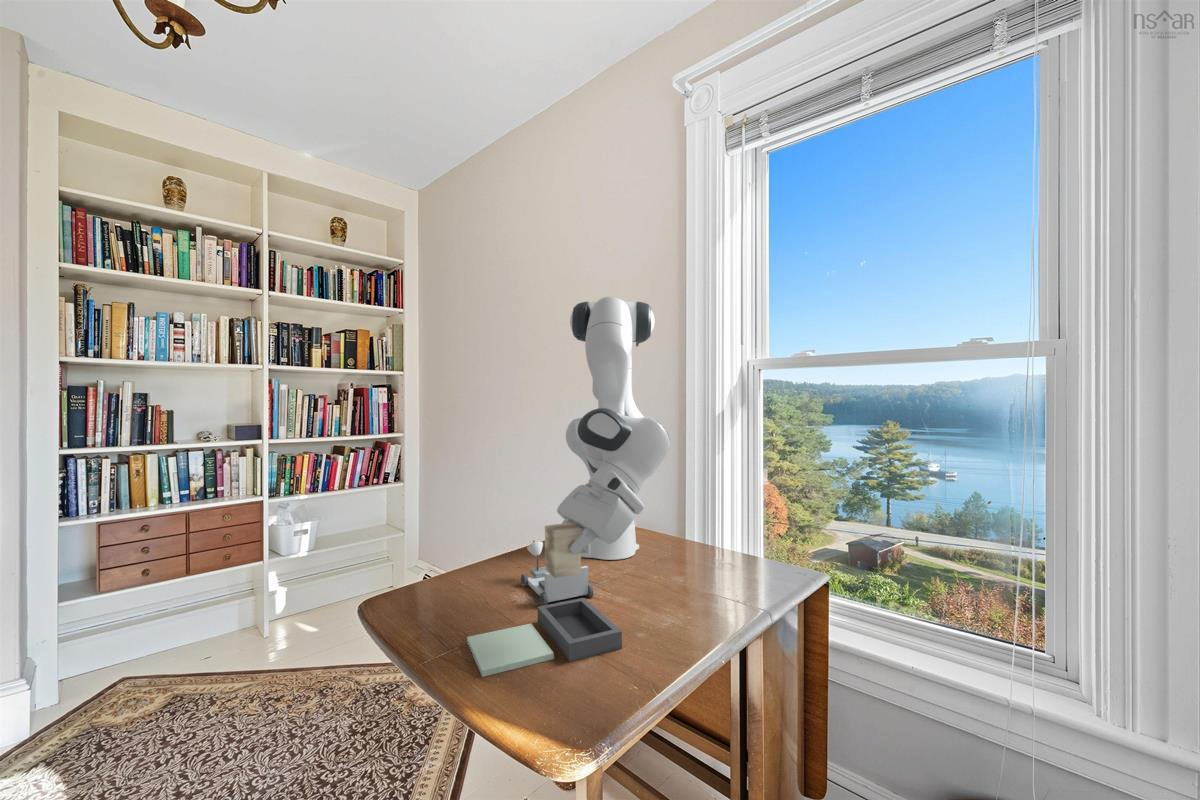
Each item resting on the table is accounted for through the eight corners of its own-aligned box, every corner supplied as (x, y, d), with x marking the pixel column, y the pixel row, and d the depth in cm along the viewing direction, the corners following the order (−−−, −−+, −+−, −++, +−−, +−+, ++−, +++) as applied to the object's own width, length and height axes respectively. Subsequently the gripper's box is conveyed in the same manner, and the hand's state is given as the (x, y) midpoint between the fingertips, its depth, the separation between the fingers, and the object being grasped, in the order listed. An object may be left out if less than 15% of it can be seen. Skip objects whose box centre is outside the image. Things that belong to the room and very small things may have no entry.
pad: (467, 642, 86) (467, 637, 86) (531, 628, 92) (531, 623, 92) (482, 677, 76) (482, 670, 76) (553, 658, 81) (553, 653, 81)
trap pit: (537, 622, 94) (537, 606, 94) (583, 612, 99) (583, 597, 99) (569, 661, 80) (569, 643, 80) (621, 648, 85) (621, 631, 85)
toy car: (517, 540, 117) (561, 534, 122) (517, 581, 117) (561, 573, 122) (544, 563, 101) (593, 555, 106) (544, 610, 101) (593, 599, 106)
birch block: (544, 569, 89) (544, 525, 89) (569, 565, 91) (569, 522, 91) (555, 578, 84) (555, 532, 84) (581, 573, 86) (581, 528, 86)
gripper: (578, 471, 100) (533, 523, 96) (628, 485, 82) (576, 551, 78) (597, 490, 102) (554, 542, 98) (650, 509, 84) (600, 574, 80)
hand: (564, 546), depth 88 cm, fingers closed on birch block, 5 cm apart
